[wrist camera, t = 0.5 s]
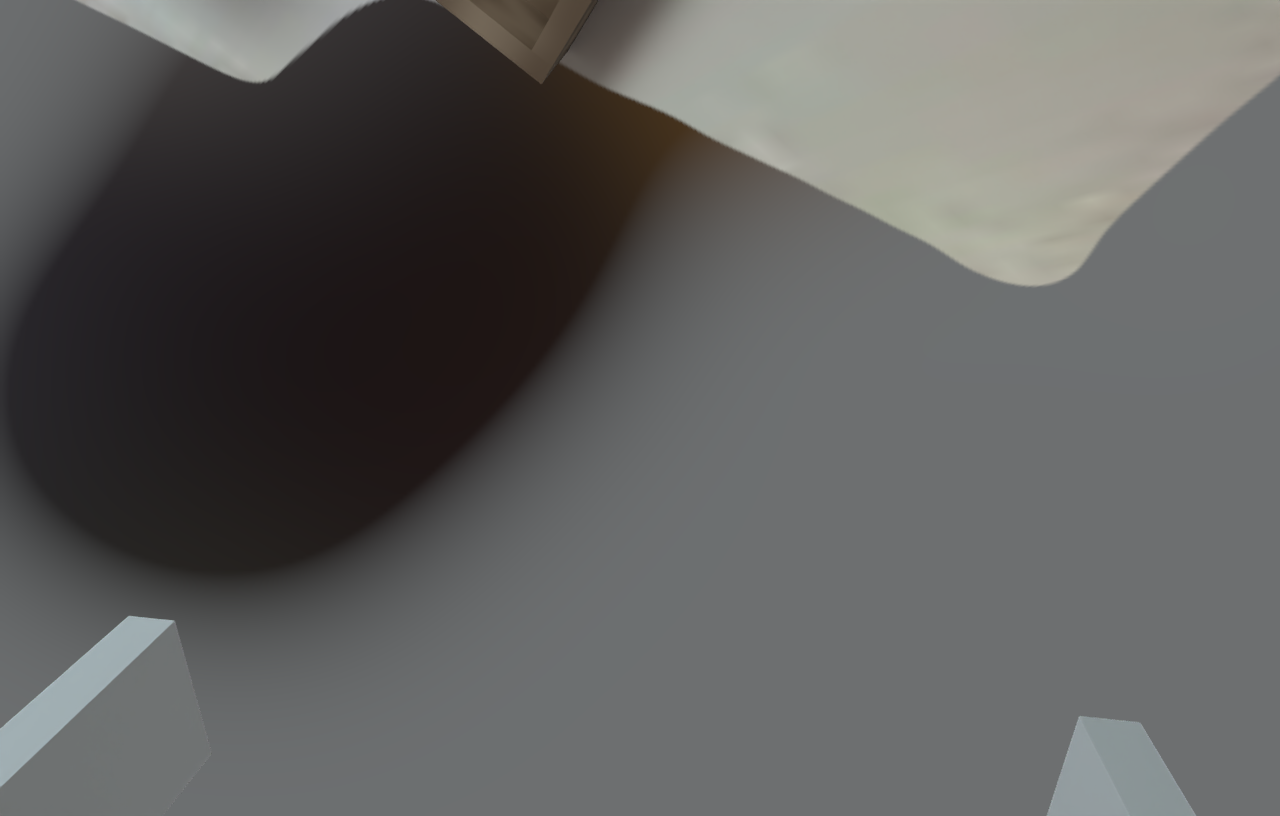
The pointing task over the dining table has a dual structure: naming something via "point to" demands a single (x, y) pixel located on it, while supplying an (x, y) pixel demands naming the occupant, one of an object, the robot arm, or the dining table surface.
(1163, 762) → the robot arm
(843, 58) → the dining table surface
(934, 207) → the dining table surface
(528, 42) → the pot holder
